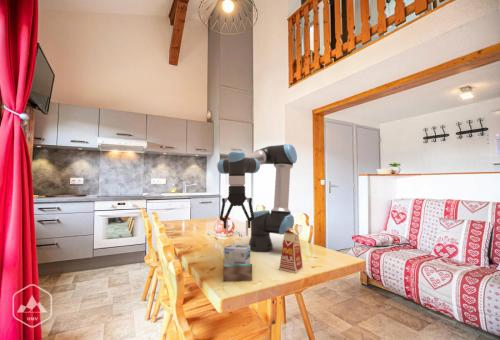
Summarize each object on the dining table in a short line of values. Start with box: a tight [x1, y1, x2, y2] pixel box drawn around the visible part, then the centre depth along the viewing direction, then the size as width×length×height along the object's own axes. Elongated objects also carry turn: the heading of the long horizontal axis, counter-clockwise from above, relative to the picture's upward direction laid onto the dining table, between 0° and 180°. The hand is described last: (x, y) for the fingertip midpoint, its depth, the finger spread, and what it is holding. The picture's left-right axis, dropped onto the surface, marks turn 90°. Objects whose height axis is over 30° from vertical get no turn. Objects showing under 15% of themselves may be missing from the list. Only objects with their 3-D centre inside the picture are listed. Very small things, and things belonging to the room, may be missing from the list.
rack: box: [223, 263, 253, 283], centre depth 118 cm, size 12×28×7 cm, turn 5°
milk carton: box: [278, 227, 304, 274], centre depth 119 cm, size 9×9×20 cm
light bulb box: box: [223, 243, 251, 266], centre depth 111 cm, size 11×7×11 cm, turn 72°
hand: (237, 235), depth 112 cm, fingers open, 8 cm apart
